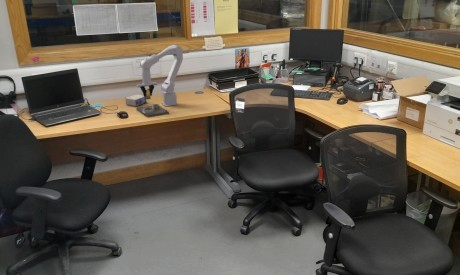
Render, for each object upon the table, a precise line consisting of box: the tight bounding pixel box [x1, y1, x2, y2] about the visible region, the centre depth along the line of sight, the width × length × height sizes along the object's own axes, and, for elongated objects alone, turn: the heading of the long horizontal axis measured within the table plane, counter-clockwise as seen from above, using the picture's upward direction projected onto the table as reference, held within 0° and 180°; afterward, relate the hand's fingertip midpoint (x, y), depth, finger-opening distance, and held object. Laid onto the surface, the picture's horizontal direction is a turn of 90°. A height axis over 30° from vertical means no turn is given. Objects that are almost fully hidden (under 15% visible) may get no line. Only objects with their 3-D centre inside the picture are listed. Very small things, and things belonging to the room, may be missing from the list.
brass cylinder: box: [145, 87, 152, 100], centre depth 285 cm, size 4×4×7 cm
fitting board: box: [135, 103, 170, 118], centre depth 280 cm, size 16×20×4 cm
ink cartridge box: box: [125, 93, 147, 107], centre depth 298 cm, size 10×6×14 cm
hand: (147, 96), depth 285 cm, fingers closed on brass cylinder, 4 cm apart
